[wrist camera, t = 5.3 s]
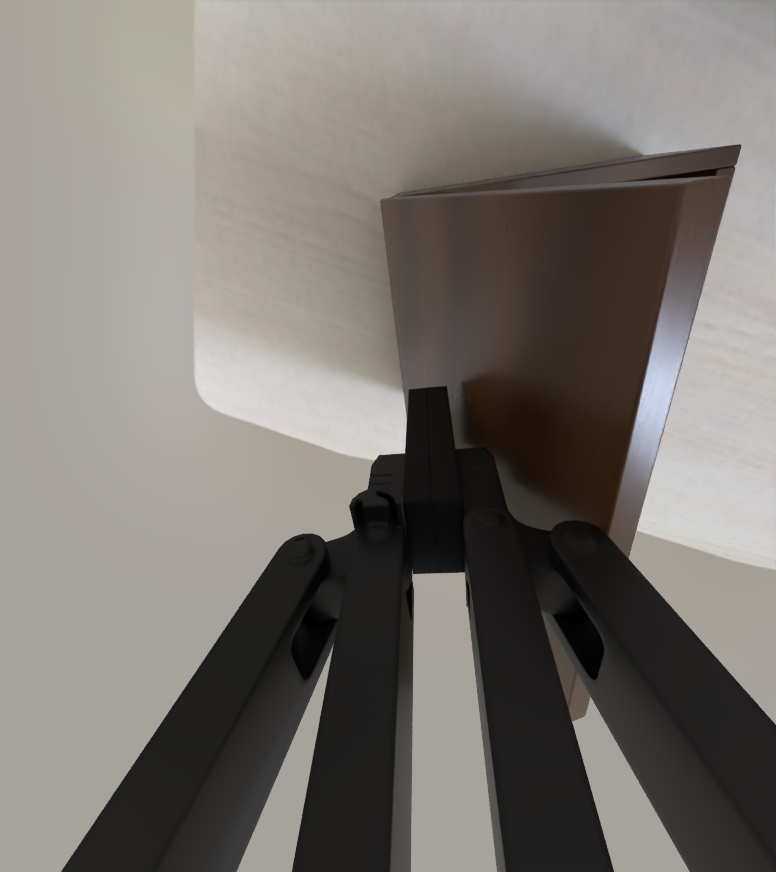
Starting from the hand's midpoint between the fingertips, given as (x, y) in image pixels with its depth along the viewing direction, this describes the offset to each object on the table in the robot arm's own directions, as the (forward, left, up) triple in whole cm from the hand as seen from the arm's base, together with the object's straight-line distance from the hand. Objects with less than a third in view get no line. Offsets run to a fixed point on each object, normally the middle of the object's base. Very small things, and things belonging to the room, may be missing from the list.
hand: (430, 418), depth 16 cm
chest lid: (-2, 0, 0) cm, 2 cm away
